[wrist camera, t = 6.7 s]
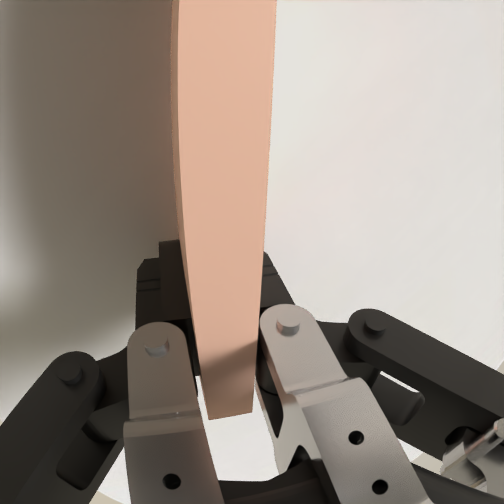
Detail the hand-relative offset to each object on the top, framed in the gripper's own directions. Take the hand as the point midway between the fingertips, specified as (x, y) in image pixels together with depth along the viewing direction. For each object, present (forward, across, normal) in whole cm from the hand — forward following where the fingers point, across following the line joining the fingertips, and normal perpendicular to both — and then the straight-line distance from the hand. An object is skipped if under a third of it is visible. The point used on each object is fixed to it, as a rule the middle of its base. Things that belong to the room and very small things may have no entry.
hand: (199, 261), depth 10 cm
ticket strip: (0, 0, -10) cm, 10 cm away
